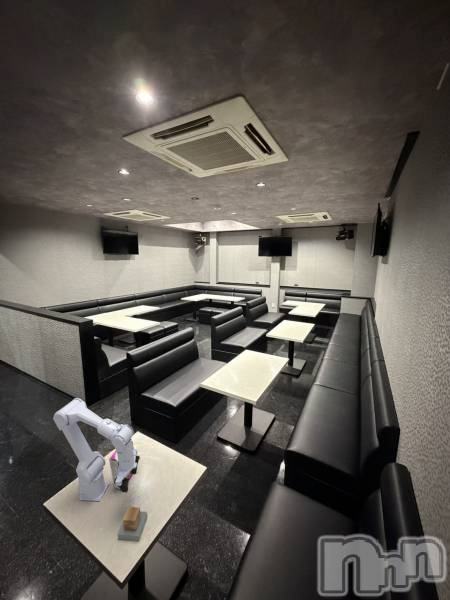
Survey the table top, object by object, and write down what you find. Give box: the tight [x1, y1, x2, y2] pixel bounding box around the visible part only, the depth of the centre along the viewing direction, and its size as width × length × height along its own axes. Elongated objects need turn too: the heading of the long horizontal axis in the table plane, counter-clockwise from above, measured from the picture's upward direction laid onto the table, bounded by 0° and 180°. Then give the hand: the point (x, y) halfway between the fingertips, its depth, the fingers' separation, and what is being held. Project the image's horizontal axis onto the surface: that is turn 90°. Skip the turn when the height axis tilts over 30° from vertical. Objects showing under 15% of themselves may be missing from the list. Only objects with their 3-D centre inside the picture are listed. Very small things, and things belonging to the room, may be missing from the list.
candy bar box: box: [108, 440, 134, 490], centre depth 109 cm, size 11×5×16 cm, turn 168°
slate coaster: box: [116, 510, 148, 542], centre depth 91 cm, size 8×8×3 cm
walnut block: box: [122, 506, 141, 531], centre depth 90 cm, size 4×4×5 cm
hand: (129, 482), depth 98 cm, fingers open, 7 cm apart
